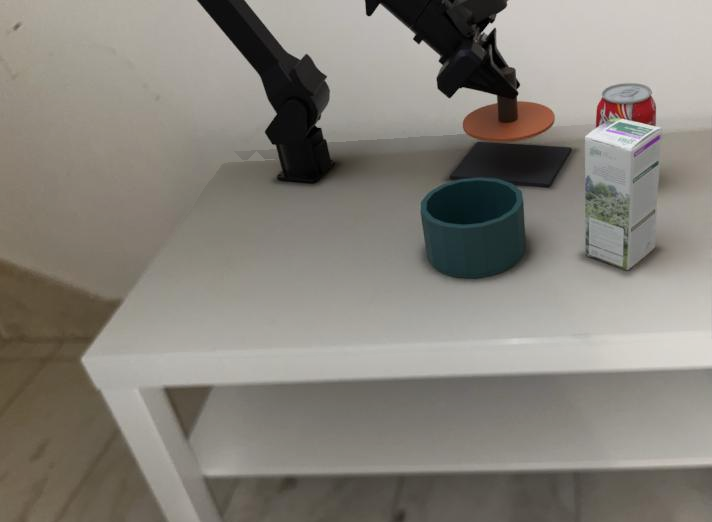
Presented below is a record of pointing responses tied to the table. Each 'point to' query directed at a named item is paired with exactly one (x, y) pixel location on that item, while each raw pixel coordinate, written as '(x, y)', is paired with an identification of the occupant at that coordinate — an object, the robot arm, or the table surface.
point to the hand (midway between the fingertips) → (517, 92)
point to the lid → (508, 118)
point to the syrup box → (621, 191)
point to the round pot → (474, 227)
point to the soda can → (627, 104)
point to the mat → (513, 163)
